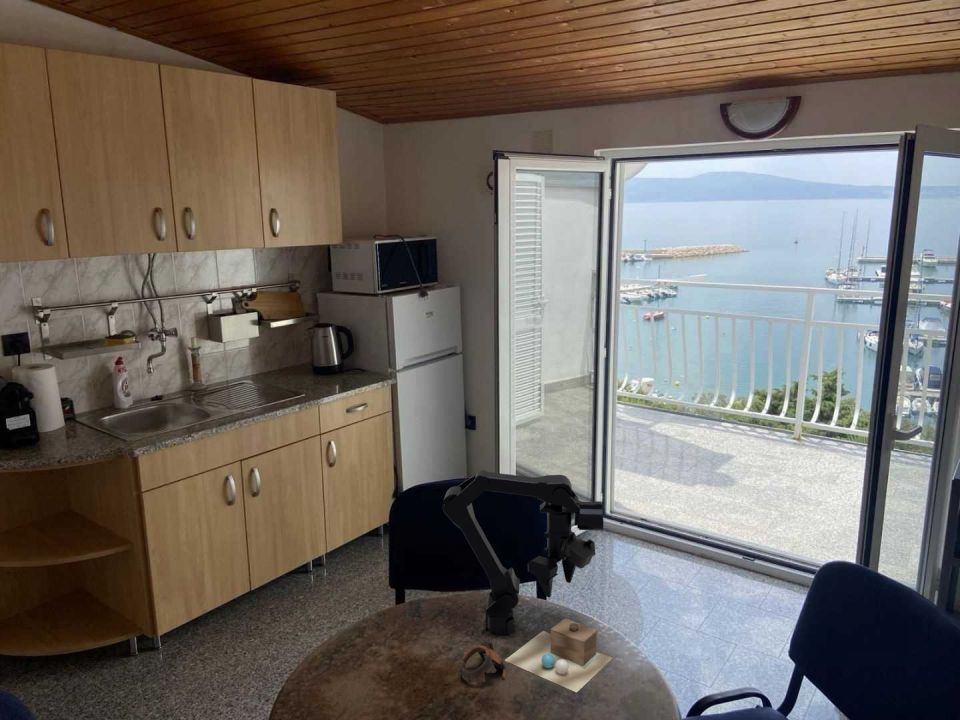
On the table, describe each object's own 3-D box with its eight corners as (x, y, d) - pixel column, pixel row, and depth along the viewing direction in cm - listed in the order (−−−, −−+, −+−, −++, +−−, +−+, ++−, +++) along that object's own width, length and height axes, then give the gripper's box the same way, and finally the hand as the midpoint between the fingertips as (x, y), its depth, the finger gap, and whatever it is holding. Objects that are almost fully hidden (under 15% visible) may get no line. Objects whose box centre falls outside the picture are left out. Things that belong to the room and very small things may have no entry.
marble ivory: (552, 673, 156) (552, 661, 156) (559, 667, 158) (559, 654, 158) (563, 678, 154) (564, 665, 154) (571, 672, 157) (571, 659, 156)
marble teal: (538, 667, 158) (538, 655, 158) (546, 661, 161) (546, 649, 160) (550, 672, 157) (550, 660, 156) (557, 666, 159) (557, 653, 158)
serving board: (504, 664, 161) (504, 660, 161) (543, 634, 174) (543, 630, 174) (576, 696, 150) (576, 692, 149) (612, 662, 162) (612, 657, 162)
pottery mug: (510, 693, 152) (493, 668, 149) (472, 707, 154) (454, 682, 151) (510, 649, 163) (494, 625, 160) (474, 662, 165) (457, 639, 162)
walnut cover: (550, 653, 164) (550, 625, 163) (564, 641, 169) (564, 614, 168) (582, 666, 159) (583, 637, 158) (596, 653, 163) (597, 626, 162)
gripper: (567, 550, 157) (566, 615, 159) (608, 524, 171) (606, 584, 174) (526, 538, 164) (526, 600, 166) (568, 514, 178) (567, 572, 181)
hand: (558, 589), depth 171 cm, fingers open, 9 cm apart
